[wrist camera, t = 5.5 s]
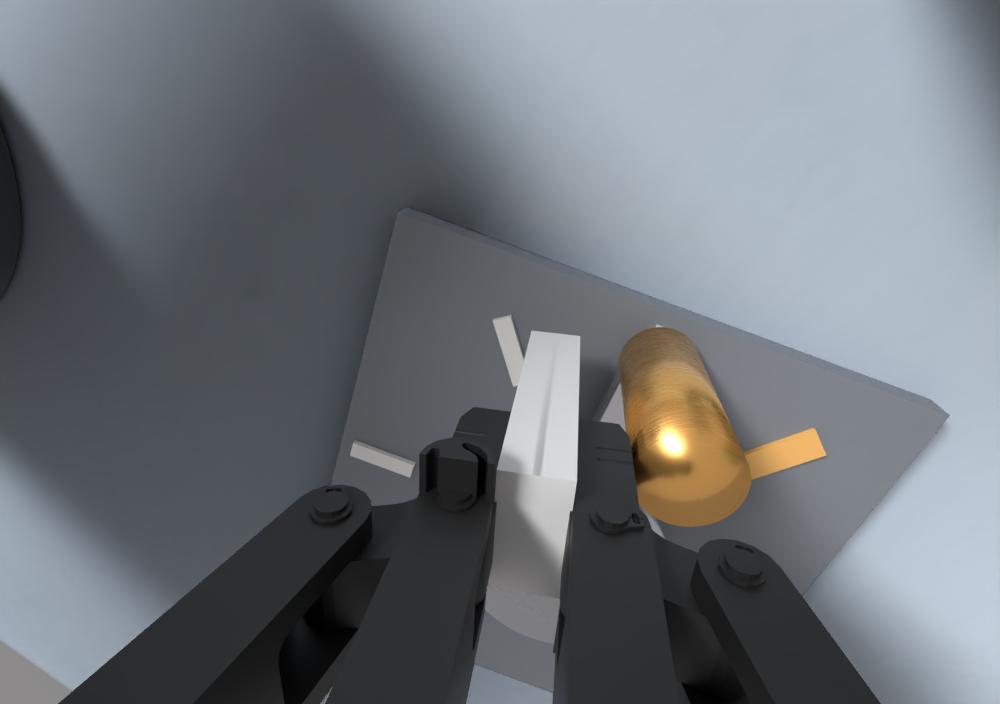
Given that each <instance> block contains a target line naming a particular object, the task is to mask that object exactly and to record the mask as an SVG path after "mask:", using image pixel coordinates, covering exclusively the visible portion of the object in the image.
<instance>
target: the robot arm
mask: <svg viewBox="0 0 1000 704" xmlns="http://www.w3.org/2000/svg"><path fill="white" fill-rule="evenodd" d="M20 228H21V225H20V205H19V195H18V189H17V183H16V178H15V173H14V169H13V164H12V161H11V157H10V154H9V150H8V147H7V144H6V141H5V138H4V135H3V132H2V129H1V127H0V298H1V296H2V295H3V293H4V291H5V290H6V288H7V286H8V284H9V281H10V279H11V277H12V274H13V271H14V268H15V265H16V260H17V256H18V250H19V243H20ZM579 372H580V336H576V335H567V334H558V333H549V332H540V331H531V335H530V339H529V343H528V347H527V351H526V355H525V359H524V363H523V367H522V371H521V375H520V379H519V383H518V387H517V391H516V395H515V399H514V403H513V407H512V411H511V412H510V411H502V410H494V409H486V408H478V407H473V408H472V409H470V410H469V411H468V412H466V413H465V414H464V415H462V416H461V417H460V420H459V422H458V424H457V427H456V429H455V432H454V434H453V437H452V438H447V439H442V440H437V441H435V442H433V443H431V444H429V445H427V446H426V447H425V448H424V449H423V450H422V451H421V452H420V454H419V494H418V496H417V498H415V499H413V500H410V501H407V502H404V503H397V504H390V505H379V506H371V500H370V499H369V497H368V496H367V494H366V493H365V492H363V491H361V490H360V489H358V488H356V487H352V486H347V485H330V486H324V487H321V488H318V489H315V490H312V491H310V492H309V493H307V494H305V495H304V496H302V497H301V498H299V499H298V500H297V501H296V502H295V503H293V504H292V505H291V506H290V507H289V508H288V509H286V510H285V511H284V512H283V513H282V514H280V515H279V516H278V517H277V518H276V519H275V520H273V521H272V522H271V523H270V524H269V525H268V526H266V527H265V528H264V529H263V530H262V531H260V532H259V533H258V534H257V535H256V536H255V537H253V538H252V539H251V540H250V541H249V542H248V543H246V544H245V545H244V546H243V547H242V548H241V549H239V550H238V551H237V552H236V553H235V554H233V555H232V556H231V557H230V558H229V559H228V560H226V561H225V562H224V563H223V564H222V565H221V566H219V567H218V568H217V569H216V570H215V571H214V572H212V573H211V574H210V575H209V576H208V577H206V578H205V579H204V580H203V581H202V582H201V583H199V584H198V585H197V586H196V587H195V588H194V589H192V590H191V591H190V592H189V593H188V594H186V595H185V596H184V597H183V598H182V599H181V600H179V601H178V602H177V603H176V604H175V605H174V606H172V607H171V608H170V609H169V610H168V611H167V612H165V613H164V614H163V615H162V616H161V617H159V618H158V619H157V620H156V621H155V622H154V623H152V624H151V625H150V626H149V627H148V628H147V629H145V630H144V631H143V632H142V633H141V634H140V635H138V636H137V637H136V638H135V639H134V640H132V641H131V642H130V643H129V644H128V645H127V646H125V647H124V648H123V649H122V650H121V651H120V652H118V653H117V654H116V655H115V656H114V657H113V658H111V659H110V660H109V661H108V662H107V663H105V664H104V665H103V666H102V667H101V668H100V669H98V670H97V671H96V672H95V673H94V674H93V675H91V676H90V677H89V678H88V679H87V680H85V681H84V682H83V683H82V684H81V685H80V686H78V687H77V688H76V689H75V690H74V691H73V692H71V694H69V695H68V696H67V697H66V698H65V699H63V700H62V701H61V702H60V703H58V704H320V703H321V701H322V700H323V699H324V697H325V696H326V694H327V693H328V692H329V690H330V689H331V688H332V686H333V685H334V686H333V688H332V690H331V692H330V695H329V697H328V699H327V701H326V704H466V700H467V696H468V691H469V686H470V681H471V676H472V671H473V667H474V662H475V657H476V652H477V647H478V642H479V638H480V633H481V628H482V623H483V618H484V613H485V602H486V591H487V586H488V587H489V588H496V589H502V590H508V591H514V592H520V593H525V594H532V595H538V596H544V597H550V598H556V599H560V607H559V614H558V620H557V627H556V634H555V641H554V647H553V653H555V671H554V690H553V704H880V702H879V701H878V699H877V698H876V697H875V695H874V694H873V693H872V691H871V690H870V689H869V687H868V686H867V684H866V683H865V682H864V680H863V679H862V678H861V676H860V675H859V674H858V672H857V671H856V669H855V668H854V667H853V665H852V664H851V663H850V661H849V660H848V659H847V657H846V656H845V654H844V653H843V652H842V650H841V649H840V648H839V646H838V645H837V644H836V642H835V641H834V639H833V638H832V637H831V635H830V634H829V633H828V631H827V630H826V629H825V627H824V626H823V624H822V623H821V622H820V620H819V619H818V618H817V616H816V615H815V613H814V612H813V611H812V609H811V608H810V607H809V605H808V604H807V603H806V601H805V600H804V598H803V597H802V596H801V594H800V593H799V592H798V590H797V589H796V588H795V586H794V585H793V583H792V582H791V581H790V579H789V578H788V577H787V575H786V574H785V573H784V571H783V570H782V568H781V567H780V566H779V565H778V564H777V563H776V562H775V561H774V560H773V559H772V558H771V557H770V556H769V555H767V554H765V553H764V552H762V551H761V550H759V549H757V548H756V547H754V546H752V545H749V544H746V543H743V542H740V541H738V540H729V539H717V540H712V541H708V542H707V543H706V544H704V545H703V546H702V547H700V549H699V553H697V552H695V551H692V550H690V549H687V548H684V547H682V546H679V545H677V544H675V543H672V542H670V541H668V540H666V539H664V538H663V537H661V536H660V535H658V534H657V533H655V532H654V531H653V530H652V528H651V525H650V522H649V520H648V518H647V516H646V515H645V514H644V513H643V512H642V511H641V510H640V509H639V501H638V494H637V487H636V479H635V472H634V466H633V457H632V454H631V453H632V450H631V442H630V437H629V436H628V434H627V433H626V432H625V431H624V429H623V428H622V427H621V426H620V425H619V424H616V423H608V422H600V421H592V420H584V419H578V415H579ZM488 581H489V583H488Z"/></svg>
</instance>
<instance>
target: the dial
mask: <svg viewBox="0 0 1000 704" xmlns="http://www.w3.org/2000/svg"><path fill="white" fill-rule="evenodd" d="M618 366H619V368H618V370H617V372H616V374H615V376H614V378H613V380H612V382H611V384H610V386H609V388H608V390H607V392H606V394H605V396H604V398H603V400H602V402H601V404H600V406H599V407H598V409H597V411H596V413H595V415H594V417H593V419H592V421H600V422H608V423H616V424H619V425H620V426H621V427H622V428H623V429H624V431H625V432H626V433H627V434H628V436H629V437H630V442H631V450H632V453H631V454H632V457H633V466H634V472H635V479H636V487H637V494H638V501H639V509H640V510H641V511H642V512H643V513H644V514H645V515H646V516H647V518H648V520H649V522H650V525H651V528H652V530H653V531H654V532H655V533H657V534H658V535H660V536H661V537H663V538H664V539H666V537H665V532H664V526H663V522H666V523H669V524H672V525H677V526H684V527H696V526H704V525H709V524H712V523H715V522H718V521H720V520H722V519H724V518H726V517H728V516H729V515H731V514H732V513H733V512H735V511H736V510H737V509H738V508H739V507H740V506H741V504H742V503H743V502H744V500H745V499H746V497H747V495H748V493H749V490H750V486H751V470H750V467H749V464H748V462H747V460H746V457H745V455H744V453H743V451H742V449H741V446H740V444H739V442H738V440H737V438H736V435H735V433H734V431H733V429H732V427H731V424H730V422H729V420H728V418H727V415H726V413H725V411H724V409H723V407H722V404H721V402H720V400H719V398H718V396H717V393H716V391H715V389H714V387H713V385H712V382H711V380H710V378H709V376H708V374H707V371H706V369H705V367H704V365H703V363H702V360H701V358H700V356H699V354H698V352H697V349H696V347H695V345H694V344H693V342H692V341H691V340H690V339H689V338H688V337H687V336H686V335H685V334H683V333H682V332H680V331H678V330H675V329H672V328H667V327H654V328H649V329H645V330H643V331H640V332H639V333H637V334H635V335H634V336H633V337H631V338H630V339H629V340H628V341H627V342H626V344H625V345H624V347H623V348H622V350H621V353H620V356H619V362H618ZM488 583H489V581H488ZM559 607H560V599H556V598H550V597H544V596H538V595H532V594H525V593H520V592H514V591H508V590H502V589H496V588H489V587H488V586H487V591H486V602H485V610H486V611H487V612H488V613H489V614H490V615H492V616H493V617H494V618H495V619H496V620H498V621H499V622H501V623H502V624H503V625H505V626H507V627H508V628H510V629H512V630H514V631H516V632H518V633H520V634H522V635H525V636H527V637H530V638H533V639H536V640H539V641H543V642H548V643H552V644H554V641H555V634H556V627H557V620H558V614H559Z"/></svg>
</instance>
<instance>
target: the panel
mask: <svg viewBox="0 0 1000 704" xmlns="http://www.w3.org/2000/svg"><path fill="white" fill-rule="evenodd" d="M654 327H667V328H672V329H675V330H678V331H680V332H682V333H683V334H685V335H686V336H687V337H688V338H689V339H690V340H691V341H692V342H693V344H694V345H695V347H696V349H697V352H698V354H699V356H700V358H701V360H702V363H703V365H704V367H705V369H706V371H707V374H708V376H709V378H710V380H711V382H712V385H713V387H714V389H715V391H716V393H717V396H718V398H719V400H720V402H721V404H722V407H723V409H724V411H725V413H726V415H727V418H728V420H729V422H730V424H731V427H732V429H733V431H734V433H735V435H736V438H737V440H738V442H739V444H740V446H741V449H742V451H743V453H744V455H745V457H746V460H747V462H748V464H749V467H750V470H751V486H750V490H749V493H748V495H747V497H746V499H745V500H744V502H743V503H742V504H741V506H740V507H739V508H738V509H737V510H736V511H735V512H733V513H732V514H731V515H729V516H728V517H726V518H724V519H722V520H720V521H718V522H715V523H712V524H709V525H704V526H696V527H684V526H677V525H672V524H669V523H666V522H663V526H664V532H665V537H666V540H668V541H670V542H672V543H675V544H677V545H679V546H682V547H684V548H687V549H690V550H692V551H695V552H697V553H699V549H700V547H702V546H703V545H704V544H706V543H707V542H708V541H712V540H717V539H729V540H738V541H740V542H743V543H746V544H749V545H752V546H754V547H756V548H757V549H759V550H761V551H762V552H764V553H765V554H767V555H769V556H770V557H771V558H772V559H773V560H774V561H775V562H776V563H777V564H778V565H779V566H780V567H781V568H782V570H783V571H784V573H785V574H786V575H787V577H788V578H789V579H790V581H791V582H792V583H793V585H794V586H795V588H796V589H797V590H798V592H799V593H800V594H801V596H802V595H803V594H804V593H805V591H806V590H807V589H808V588H809V587H810V585H811V584H812V583H813V582H814V580H815V579H816V578H817V577H818V576H819V574H820V573H821V572H822V571H823V570H824V568H825V567H826V566H827V565H828V563H829V562H830V561H831V560H832V559H833V557H834V556H835V555H836V554H837V552H838V551H839V550H840V549H841V548H842V546H843V545H844V544H845V543H846V541H847V540H848V539H849V538H850V537H851V535H852V534H853V533H854V532H855V530H856V529H857V528H858V527H859V526H860V524H861V523H862V522H863V521H864V520H865V518H866V517H867V516H868V515H869V513H870V512H871V511H872V510H873V509H874V507H875V506H876V505H877V504H878V502H879V501H880V500H881V499H882V498H883V496H884V495H885V494H886V493H887V491H888V490H889V489H890V488H891V487H892V485H893V484H894V483H895V482H896V480H897V479H898V478H899V477H900V476H901V474H902V473H903V472H904V471H905V470H906V468H907V467H908V466H909V465H910V463H911V462H912V461H913V460H914V459H915V457H916V456H917V455H918V454H919V452H920V451H921V450H922V449H923V448H924V446H925V445H926V444H927V443H928V441H929V440H930V439H931V438H932V437H933V435H934V434H935V433H936V432H937V430H938V429H939V428H940V427H941V426H942V424H943V423H944V422H945V421H946V420H947V418H948V417H949V416H950V415H949V414H947V413H946V412H945V411H944V410H943V409H941V408H940V407H939V406H938V405H937V404H935V403H934V402H933V401H932V400H930V399H927V398H924V397H922V396H919V395H916V394H914V393H911V392H908V391H905V390H903V389H900V388H897V387H895V386H892V385H889V384H886V383H884V382H881V381H878V380H876V379H873V378H870V377H867V376H865V375H862V374H859V373H857V372H854V371H851V370H848V369H846V368H843V367H840V366H838V365H835V364H832V363H829V362H827V361H824V360H821V359H819V358H816V357H813V356H810V355H808V354H805V353H802V352H800V351H797V350H794V349H791V348H789V347H786V346H783V345H781V344H778V343H775V342H772V341H770V340H767V339H764V338H762V337H759V336H756V335H753V334H751V333H748V332H745V331H743V330H740V329H737V328H734V327H732V326H729V325H726V324H724V323H721V322H718V321H715V320H713V319H710V318H707V317H705V316H702V315H699V314H696V313H694V312H691V311H688V310H686V309H683V308H680V307H677V306H675V305H672V304H669V303H667V302H664V301H661V300H658V299H656V298H653V297H650V296H648V295H645V294H642V293H639V292H637V291H634V290H631V289H629V288H626V287H623V286H620V285H618V284H615V283H612V282H610V281H607V280H604V279H601V278H599V277H596V276H593V275H591V274H588V273H585V272H582V271H580V270H577V269H574V268H572V267H569V266H566V265H563V264H561V263H558V262H555V261H553V260H550V259H547V258H544V257H542V256H539V255H536V254H534V253H531V252H528V251H525V250H523V249H520V248H517V247H515V246H512V245H509V244H506V243H504V242H501V241H498V240H496V239H493V238H490V237H487V236H485V235H482V234H479V233H477V232H474V231H471V230H468V229H466V228H463V227H460V226H458V225H455V224H452V223H449V222H447V221H444V220H441V219H439V218H436V217H433V216H430V215H428V214H425V213H422V212H420V211H417V210H414V209H411V208H409V207H406V208H404V209H402V210H400V211H398V212H397V215H396V219H395V223H394V227H393V231H392V235H391V239H390V243H389V248H388V252H387V256H386V260H385V264H384V268H383V272H382V276H381V280H380V284H379V289H378V293H377V297H376V301H375V305H374V309H373V313H372V317H371V321H370V325H369V329H368V334H367V338H366V342H365V346H364V350H363V354H362V358H361V362H360V366H359V370H358V375H357V379H356V383H355V387H354V391H353V395H352V399H351V403H350V407H349V411H348V416H347V420H346V424H345V428H344V432H343V436H342V440H341V444H340V448H339V452H338V457H337V461H336V465H335V469H334V473H333V477H332V481H331V485H347V486H352V487H356V488H358V489H360V490H361V491H363V492H365V493H366V494H367V496H368V497H369V499H370V500H371V506H379V505H390V504H397V503H404V502H407V501H410V500H413V499H415V498H417V496H418V494H419V454H420V452H421V451H422V450H423V449H424V448H425V447H426V446H427V445H429V444H431V443H433V442H435V441H437V440H442V439H447V438H452V437H453V434H454V432H455V429H456V427H457V424H458V422H459V420H460V417H461V416H462V415H464V414H465V413H466V412H468V411H469V410H470V409H472V408H473V407H478V408H486V409H494V410H502V411H510V412H511V411H512V407H513V403H514V399H515V395H516V391H517V387H518V383H519V379H520V375H521V371H522V367H523V363H524V359H525V355H526V351H527V347H528V343H529V339H530V335H531V331H540V332H549V333H558V334H567V335H576V336H580V372H579V415H578V419H584V420H592V419H593V417H594V415H595V413H596V411H597V409H598V407H599V406H600V404H601V402H602V400H603V398H604V396H605V394H606V392H607V390H608V388H609V386H610V384H611V382H612V380H613V378H614V376H615V374H616V372H617V370H618V368H619V366H618V362H619V356H620V353H621V350H622V348H623V347H624V345H625V344H626V342H627V341H628V340H629V339H630V338H631V337H633V336H634V335H635V334H637V333H639V332H640V331H643V330H645V329H649V328H654ZM553 647H554V644H552V643H548V642H543V641H539V640H536V639H533V638H530V637H527V636H525V635H522V634H520V633H518V632H516V631H514V630H512V629H510V628H508V627H507V626H505V625H503V624H502V623H501V622H499V621H498V620H496V619H495V618H494V617H493V616H492V615H490V614H489V613H488V612H487V611H486V610H485V613H484V618H483V623H482V628H481V633H480V638H479V642H478V647H477V652H476V657H475V662H474V664H476V665H479V666H481V667H484V668H487V669H489V670H492V671H495V672H497V673H500V674H503V675H506V676H508V677H511V678H514V679H516V680H519V681H522V682H524V683H527V684H530V685H532V686H535V687H538V688H541V689H543V690H546V691H549V692H551V693H553V690H554V671H555V653H553Z"/></svg>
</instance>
